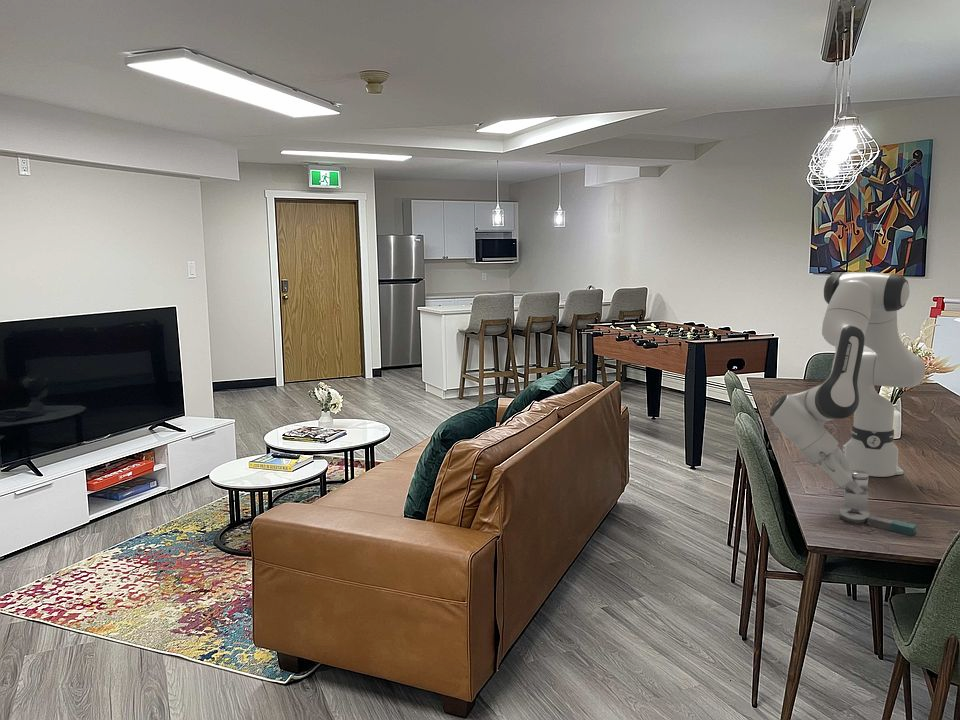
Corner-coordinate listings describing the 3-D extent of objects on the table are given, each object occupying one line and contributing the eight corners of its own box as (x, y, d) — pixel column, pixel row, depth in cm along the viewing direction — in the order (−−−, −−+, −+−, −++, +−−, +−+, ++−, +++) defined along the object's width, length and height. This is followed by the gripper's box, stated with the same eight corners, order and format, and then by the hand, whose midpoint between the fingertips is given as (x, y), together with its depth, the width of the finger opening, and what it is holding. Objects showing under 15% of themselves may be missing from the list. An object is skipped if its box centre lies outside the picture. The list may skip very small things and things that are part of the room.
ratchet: (835, 520, 189) (836, 500, 188) (844, 513, 193) (845, 493, 193) (910, 538, 176) (912, 517, 176) (917, 530, 181) (919, 509, 180)
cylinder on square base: (843, 501, 191) (845, 468, 190) (865, 503, 189) (868, 471, 188) (844, 507, 187) (846, 474, 185) (867, 510, 184) (869, 477, 183)
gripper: (831, 451, 179) (872, 493, 176) (829, 432, 197) (866, 470, 195) (810, 466, 181) (851, 508, 179) (810, 445, 200) (846, 483, 197)
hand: (859, 488), depth 187 cm, fingers closed on cylinder on square base, 5 cm apart
